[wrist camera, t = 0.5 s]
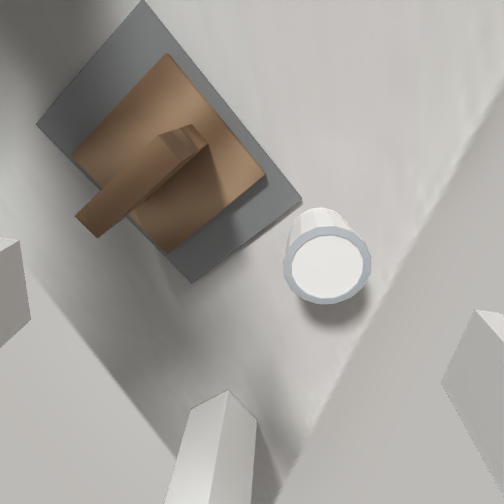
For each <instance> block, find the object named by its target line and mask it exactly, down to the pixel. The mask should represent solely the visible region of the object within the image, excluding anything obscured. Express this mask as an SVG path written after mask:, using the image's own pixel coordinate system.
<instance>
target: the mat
mask: <svg viewBox="0 0 504 504" xmlns="http://www.w3.org/2000/svg"><path fill="white" fill-rule="evenodd" d="M165 53H167V54H170V55H171V57H172V58H173V59H174V60H175V61H176V63H177V64H178V65H179V66H180V68H181V69H182V70H183V71H184V73H185V74H186V75H187V76H188V77H189V79H190V80H191V81H192V82H193V84H194V85H195V86H196V87H197V88H198V90H199V91H200V92H201V93H202V95H203V96H204V97H205V98H206V100H207V101H208V102H209V103H210V104H211V106H212V107H213V108H214V109H215V111H216V112H217V113H218V114H219V116H220V117H221V118H222V119H223V120H224V122H225V123H226V124H227V125H228V127H229V128H230V129H231V130H232V132H233V133H234V134H235V135H236V136H237V138H238V139H239V140H240V141H241V143H242V144H243V145H244V146H245V147H246V149H247V150H248V151H249V152H250V154H251V155H252V156H253V157H254V159H255V160H256V161H257V162H258V163H259V165H260V166H261V167H262V168H263V170H264V171H265V175H264V176H263V177H261V178H260V179H259V180H258V181H257V182H255V183H254V184H253V185H252V186H250V187H249V188H248V189H247V190H246V191H244V192H243V193H242V194H241V195H239V196H238V197H237V198H236V199H235V200H233V201H232V202H231V203H230V204H229V205H227V206H226V207H225V208H224V209H222V210H221V211H220V212H219V213H218V214H216V215H215V216H214V217H213V218H211V219H210V220H209V221H208V222H207V223H205V224H204V225H203V226H202V227H200V228H199V229H198V230H197V231H196V232H194V233H193V234H192V235H191V236H189V237H188V238H187V239H186V240H185V241H183V242H182V243H181V244H180V245H178V246H177V247H176V248H175V249H174V250H172V251H171V252H170V253H169V254H167V253H166V252H165V251H164V250H163V249H162V248H161V247H160V246H159V245H158V244H157V243H156V242H155V241H154V240H153V239H152V238H151V237H150V236H149V235H148V234H147V233H146V232H145V231H144V230H143V229H142V228H141V227H140V226H139V225H138V224H137V223H136V222H135V221H134V220H133V219H132V218H131V217H130V216H129V215H127V216H126V217H127V218H128V219H129V220H130V221H131V222H132V223H133V224H134V225H135V226H136V227H137V228H138V229H139V230H140V231H141V232H142V233H143V234H144V235H145V236H146V237H147V238H148V239H149V240H150V241H151V242H152V243H153V244H154V245H155V246H156V247H157V249H158V250H159V251H160V252H161V253H162V254H163V255H164V256H165V257H166V258H167V259H168V260H169V261H170V262H171V263H172V264H173V265H174V266H175V267H176V268H177V269H178V270H179V271H180V272H181V273H182V274H183V275H184V276H185V277H186V278H187V279H188V280H189V281H190V282H191V283H193V282H194V281H195V280H197V279H198V278H199V277H201V276H202V275H203V274H205V273H206V272H207V271H209V270H210V269H211V268H213V267H214V266H215V265H216V264H218V263H219V262H220V261H222V260H223V259H224V258H226V257H227V256H228V255H230V254H231V253H232V252H234V251H235V250H236V249H238V248H239V247H240V246H241V245H243V244H244V243H245V242H247V241H248V240H249V239H251V238H252V237H253V236H255V235H256V234H257V233H259V232H260V231H261V230H262V229H264V228H265V227H266V226H268V225H269V224H270V223H272V222H273V221H274V220H276V219H277V218H278V217H280V216H281V215H282V214H284V213H285V212H286V211H287V210H289V209H290V208H291V207H293V206H294V205H295V204H297V203H298V202H299V201H301V200H302V197H301V196H300V195H299V194H298V192H297V191H296V190H295V189H294V187H293V186H292V185H291V184H290V182H289V181H288V180H287V179H286V177H285V176H284V175H283V174H282V172H281V171H280V170H279V169H278V167H277V166H276V165H275V164H274V162H273V161H272V160H271V159H270V157H269V156H268V155H267V154H266V152H265V151H264V150H263V149H262V147H261V146H260V145H259V144H258V142H257V141H256V140H255V139H254V137H253V136H252V135H251V134H250V132H249V131H248V130H247V129H246V127H245V126H244V125H243V124H242V122H241V121H240V120H239V119H238V117H237V116H236V115H235V114H234V112H233V111H232V110H231V109H230V107H229V106H228V105H227V104H226V102H225V101H224V100H223V99H222V97H221V96H220V95H219V94H218V92H217V91H216V90H215V89H214V87H213V86H212V85H211V83H210V82H209V81H208V80H207V78H206V77H205V76H204V75H203V73H202V72H201V71H200V70H199V68H198V67H197V66H196V65H195V63H194V62H193V61H192V60H191V58H190V57H189V56H188V55H187V53H186V52H185V51H184V50H183V48H182V47H181V46H180V45H179V43H178V42H177V41H176V40H175V38H174V37H173V36H172V35H171V33H170V32H169V31H168V30H167V28H166V27H165V26H164V25H163V23H162V22H161V21H160V20H159V18H158V17H157V16H156V15H155V13H154V12H153V11H152V10H151V8H150V7H149V6H148V5H147V3H146V2H145V1H144V0H141V1H140V2H139V4H138V5H137V6H136V7H135V8H134V9H133V11H132V12H131V13H130V14H129V15H128V16H127V18H126V19H125V20H124V21H123V22H122V23H121V25H120V26H119V27H118V28H117V29H116V31H115V32H114V33H113V34H112V35H111V36H110V38H109V39H108V40H107V41H106V42H105V43H104V45H103V46H102V47H101V48H100V49H99V50H98V52H97V53H96V54H95V55H94V56H93V57H92V59H91V60H90V61H89V62H88V63H87V65H86V66H85V67H84V68H83V69H82V70H81V72H80V73H79V74H78V75H77V76H76V77H75V79H74V80H73V81H72V82H71V83H70V84H69V86H68V87H67V88H66V89H65V90H64V91H63V93H62V94H61V95H60V96H59V97H58V99H57V100H56V101H55V102H54V103H53V104H52V106H51V107H50V108H49V109H48V110H47V111H46V113H45V114H44V115H43V116H42V117H41V118H40V120H39V121H38V122H37V123H36V125H37V126H38V127H39V129H40V130H41V131H42V132H43V133H44V134H45V135H46V136H47V137H48V138H49V139H50V140H51V141H52V142H53V143H54V144H55V145H56V146H57V147H58V148H59V149H60V150H61V151H62V152H63V153H64V154H65V155H66V156H67V157H68V158H69V159H70V160H71V161H72V162H73V163H74V164H75V165H76V166H77V167H78V168H79V169H80V170H81V171H82V172H83V173H84V174H85V175H86V176H87V177H88V178H89V179H90V180H91V181H92V182H93V183H94V184H95V185H96V186H97V187H98V189H99V190H100V191H101V190H102V189H103V188H102V187H101V186H100V185H99V184H98V183H97V182H96V181H95V180H94V179H93V178H92V177H91V176H90V175H89V174H88V173H87V172H86V171H85V170H84V169H83V168H82V167H81V165H80V164H79V163H78V162H77V161H76V160H75V159H74V158H73V157H72V156H71V154H72V153H73V152H74V151H75V150H76V148H77V147H78V146H79V145H80V144H81V143H82V142H83V141H84V140H85V139H86V138H87V137H88V136H89V135H90V133H91V132H92V131H93V130H94V129H95V128H96V127H97V126H98V125H99V124H100V123H101V122H102V121H103V120H104V118H105V117H106V116H107V115H108V114H109V113H110V112H111V111H112V110H113V109H114V108H115V107H116V106H117V105H118V103H119V102H120V101H121V100H122V99H123V98H124V97H125V96H126V95H127V94H128V93H129V92H130V91H131V90H132V88H133V87H134V86H135V85H136V84H137V83H138V82H139V81H140V80H141V79H142V78H143V77H144V76H145V75H146V73H147V72H148V71H149V70H150V69H151V68H152V67H153V66H154V65H155V64H156V63H157V62H158V61H159V60H160V58H161V57H162V56H163V55H164V54H165Z"/></svg>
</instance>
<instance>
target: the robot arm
mask: <svg viewBox="0 0 504 504" xmlns="http://www.w3.org/2000/svg"><path fill="white" fill-rule="evenodd" d="M30 320H31V317H30V310H29V303H28V297H27V289H26V282H25V276H24V269H23V262H22V255H21V248H20V241H19V240H14V239H7V238H1V237H0V348H1V347H2V346H3V345H4V344H5V343H6V342H7V341H8V340H9V339H10V338H12V337H13V336H14V335H15V334H16V333H17V332H18V331H19V330H20V329H21V328H22V327H23V326H24V325H26V324H27V323H28V322H29V321H30ZM441 384H442V386H443V387H444V389H445V391H446V393H447V395H448V397H449V398H450V400H451V402H452V404H453V406H454V407H455V409H456V411H457V413H458V415H459V416H460V418H461V420H462V422H463V424H464V426H465V427H466V429H467V431H468V433H469V435H470V436H471V438H472V440H473V442H474V444H475V446H476V447H477V449H478V451H479V453H480V455H481V456H482V458H483V460H484V462H485V464H486V466H487V467H488V469H489V471H490V473H491V475H492V476H493V478H494V480H495V482H496V484H497V485H498V487H499V489H500V491H501V493H502V494H503V496H504V316H503V315H502V314H501V313H495V312H489V311H482V310H474V312H473V314H472V316H471V318H470V320H469V322H468V324H467V327H466V329H465V331H464V333H463V335H462V338H461V340H460V342H459V344H458V346H457V348H456V350H455V353H454V355H453V357H452V359H451V361H450V363H449V366H448V368H447V370H446V372H445V374H444V376H443V378H442V380H441Z"/></svg>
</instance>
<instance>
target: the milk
mask: <svg viewBox="0 0 504 504" xmlns="http://www.w3.org/2000/svg"><path fill="white" fill-rule="evenodd" d="M256 429H257V420H256V419H255V418H254V417H253V416H252V415H251V414H250V413H249V412H248V411H247V410H246V408H245V407H244V406H243V405H242V404H241V403H240V402H239V401H238V400H237V399H236V398H235V397H234V396H233V395H232V394H231V393H230V391H228V390H227V391H225V392H223V393H221V394H220V395H218V396H216V397H214V398H212V399H210V400H208V401H206V402H204V403H202V404H200V405H198V406H196V407H195V408H193V409H191V411H190V414H189V418H188V421H187V425H186V428H185V432H184V435H183V439H182V442H181V446H180V449H179V453H178V456H177V460H176V463H175V467H174V470H173V474H172V477H171V481H170V484H169V488H168V491H167V495H166V498H165V502H164V504H251V496H252V483H253V469H254V456H255V442H256Z"/></svg>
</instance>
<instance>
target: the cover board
mask: <svg viewBox="0 0 504 504" xmlns="http://www.w3.org/2000/svg"><path fill="white" fill-rule="evenodd" d="M71 156H72V157H73V158H74V159H75V160H76V161H77V162H78V163H79V164H80V165H81V167H82V168H83V169H84V170H85V171H86V172H87V173H88V174H89V175H90V176H91V177H92V178H93V179H94V180H95V181H96V182H97V183H98V184H99V185H100V186H101V187H102V188H103V189H102V190H101V191H100V192H99V193H98V194H97V195H96V196H95V197H94V198H93V199H92V200H91V201H90V202H89V203H88V204H87V205H86V206H85V207H84V208H83V209H82V210H81V211H80V212H79V213H77V214H76V215H75V217H76V218H77V219H78V220H79V221H80V222H81V223H82V224H83V225H84V226H85V227H86V228H87V229H88V230H89V231H90V232H91V233H92V234H93V235H94V236H95V237H97V238H99V237H100V236H101V235H102V234H104V233H105V232H106V231H108V230H109V229H110V228H111V227H113V226H114V225H115V224H116V223H118V222H119V221H120V220H122V219H123V218H124V217H125V216H127V215H129V216H130V217H131V218H132V219H133V220H134V221H135V222H136V223H137V224H138V225H139V226H140V227H141V228H142V229H143V230H144V231H145V232H146V233H147V234H148V235H149V236H150V237H151V238H152V239H153V240H154V241H155V242H156V243H157V244H158V245H159V246H160V247H161V248H162V249H163V250H164V251H165V252H166V253H167V254H169V253H170V252H171V251H172V250H174V249H175V248H176V247H177V246H178V245H180V244H181V243H182V242H183V241H185V240H186V239H187V238H188V237H189V236H191V235H192V234H193V233H194V232H196V231H197V230H198V229H199V228H200V227H202V226H203V225H204V224H205V223H207V222H208V221H209V220H210V219H211V218H213V217H214V216H215V215H216V214H218V213H219V212H220V211H221V210H222V209H224V208H225V207H226V206H227V205H229V204H230V203H231V202H232V201H233V200H235V199H236V198H237V197H238V196H239V195H241V194H242V193H243V192H244V191H246V190H247V189H248V188H249V187H250V186H252V185H253V184H254V183H255V182H257V181H258V180H259V179H260V178H261V177H263V176H264V175H265V171H264V170H263V168H262V167H261V166H260V165H259V163H258V162H257V161H256V160H255V159H254V157H253V156H252V155H251V154H250V152H249V151H248V150H247V149H246V147H245V146H244V145H243V144H242V143H241V141H240V140H239V139H238V138H237V136H236V135H235V134H234V133H233V132H232V130H231V129H230V128H229V127H228V125H227V124H226V123H225V122H224V120H223V119H222V118H221V117H220V116H219V114H218V113H217V112H216V111H215V109H214V108H213V107H212V106H211V104H210V103H209V102H208V101H207V100H206V98H205V97H204V96H203V95H202V93H201V92H200V91H199V90H198V88H197V87H196V86H195V85H194V84H193V82H192V81H191V80H190V79H189V77H188V76H187V75H186V74H185V73H184V71H183V70H182V69H181V68H180V66H179V65H178V64H177V63H176V61H175V60H174V59H173V58H172V57H171V55H170V54H167V53H165V54H164V55H163V56H162V57H161V58H160V60H159V61H158V62H157V63H156V64H155V65H154V66H153V67H152V68H151V69H150V70H149V71H148V72H147V73H146V75H145V76H144V77H143V78H142V79H141V80H140V81H139V82H138V83H137V84H136V85H135V86H134V87H133V88H132V90H131V91H130V92H129V93H128V94H127V95H126V96H125V97H124V98H123V99H122V100H121V101H120V102H119V103H118V105H117V106H116V107H115V108H114V109H113V110H112V111H111V112H110V113H109V114H108V115H107V116H106V117H105V118H104V120H103V121H102V122H101V123H100V124H99V125H98V126H97V127H96V128H95V129H94V130H93V131H92V132H91V133H90V135H89V136H88V137H87V138H86V139H85V140H84V141H83V142H82V143H81V144H80V145H79V146H78V147H77V148H76V150H75V151H74V152H73V153H72V154H71Z"/></svg>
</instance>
